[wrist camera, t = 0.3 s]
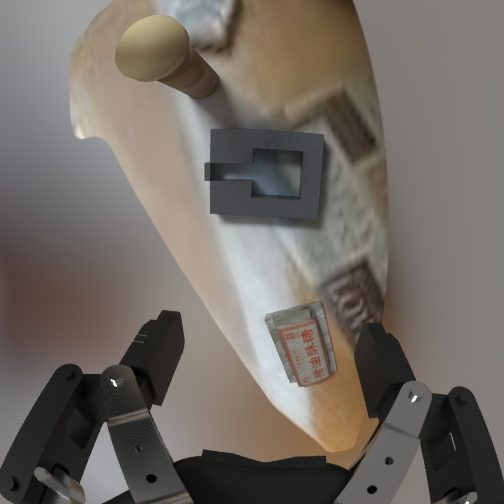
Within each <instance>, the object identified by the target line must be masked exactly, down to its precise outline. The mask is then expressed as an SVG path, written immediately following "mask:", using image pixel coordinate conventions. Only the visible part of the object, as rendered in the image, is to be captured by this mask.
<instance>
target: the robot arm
mask: <svg viewBox="0 0 504 504" xmlns="http://www.w3.org/2000/svg"><path fill="white" fill-rule="evenodd" d="M184 341H185V340H184V332H183V326H182V319H181V314H180V312H177V311H168V310H162V312H161V313H160V315H159V316H158V318H157V320H150V321H148V322H147V323H146V324H144V325H143V326H142V328H141V329H140V331H139V332H138V335H136V337H135V339H134V342H132V344H131V345H130V347H129V348H128V350H127V352H126V353H125V355H124V356H123V358H122V360H121V361H120V363H119V364H117V365H112V366H110V367H108V368H106V369H105V370H104V371H103V372H102V374H83V373H82V371H81V369H80V367H79V366H77V365H75V364H65V365H62V366H61V367H59V368H58V369H57V370H56V371H55V372H54V374H53V375H52V377H51V379H50V380H49V382H48V383H47V385H46V386H45V388H44V389H43V391H42V393H41V394H40V396H39V397H38V399H37V401H36V403H35V404H34V406H33V407H32V409H31V411H30V413H29V414H28V416H27V418H26V420H25V421H24V423H23V425H22V427H21V428H20V431H19V432H18V434H17V436H16V438H15V440H14V442H13V444H12V446H11V448H10V450H9V452H8V454H7V456H6V458H5V460H4V462H3V464H2V466H1V469H0V493H1V495H2V496H3V497H4V498H5V499H7V500H8V501H10V502H12V503H14V504H84V503H85V493H84V490H83V488H82V486H81V485H80V481H81V478H82V475H83V473H84V470H85V467H86V464H87V462H88V459H89V457H90V454H91V452H92V449H93V447H94V444H95V441H96V439H97V437H98V434H99V432H100V429H101V427H102V425H103V422H107V427H108V431H109V434H110V437H111V441H112V444H113V447H114V450H115V453H116V456H117V459H118V462H119V464H120V467H121V470H122V472H123V475H124V478H125V480H126V483H127V485H128V487H129V490H127V491H126V492H124V493H122V494H120V495H118V496H116V497H114V498H112V499H110V500H108V501H106V502H104V503H102V504H390V503H391V501H392V499H393V497H394V496H395V494H396V492H397V490H398V489H399V487H400V485H401V483H402V481H403V479H404V477H405V475H406V473H407V471H408V469H409V467H410V465H411V463H412V461H413V458H414V456H415V454H416V452H417V449H418V447H419V445H421V449H422V454H423V459H424V464H425V469H426V475H427V480H428V487H429V493H430V500H431V504H504V480H503V476H502V473H501V469H500V465H499V462H498V458H497V455H496V452H495V449H494V446H493V443H492V440H491V437H490V434H489V432H488V429H487V426H486V423H485V421H484V418H483V416H482V414H481V411H480V409H479V407H478V404H477V402H476V399H475V397H474V395H473V393H472V392H471V391H470V390H469V389H467V388H464V387H461V386H459V387H455V388H453V389H452V390H451V391H450V392H449V394H448V395H444V394H435V393H431V391H430V389H429V388H428V386H426V385H425V384H423V383H422V382H419V381H416V379H415V376H414V374H413V372H412V370H411V367H410V365H409V363H408V361H407V358H406V357H405V354H404V352H403V351H402V348H401V346H400V344H399V342H398V340H397V339H396V338H395V337H394V336H393V335H392V334H390V333H386V332H385V330H384V328H383V325H382V324H381V323H380V322H379V323H364V324H363V326H362V329H361V332H360V335H359V338H358V342H357V345H356V348H355V352H354V360H355V364H356V368H357V372H358V375H359V379H360V383H361V387H362V391H363V395H364V399H365V403H366V407H367V411H368V416H369V418H377V417H378V419H379V423H378V425H377V426H376V428H375V430H374V431H373V433H372V435H371V437H370V439H369V440H368V442H367V443H366V445H365V446H364V448H363V450H362V451H361V452H360V454H359V456H358V457H357V458H356V460H355V461H354V462H353V464H352V465H351V466H350V467H349V469H348V470H347V469H345V468H343V467H341V466H338V465H335V464H331V463H326V456H305V457H293V458H288V459H283V460H277V461H272V462H260V461H256V460H253V459H249V458H246V457H243V456H240V455H237V454H233V453H226V452H218V451H210V450H204V449H203V453H202V456H195V457H189V458H185V459H182V460H179V461H176V462H174V461H173V459H172V457H171V455H170V453H169V451H168V449H167V448H166V446H165V444H164V442H163V439H162V437H161V435H160V433H159V431H158V429H157V426H156V424H155V422H154V420H153V417H152V415H151V413H150V409H151V407H152V404H154V405H159V406H161V405H162V403H163V400H164V398H165V395H166V393H167V390H168V387H169V385H170V382H171V380H172V377H173V375H174V372H175V370H176V367H177V365H178V362H179V360H180V357H181V355H182V352H183V350H184V343H185V342H184ZM450 434H452V436H453V440H454V444H455V447H456V451H455V449H454V445H453V442H452V438H451V435H450Z"/></svg>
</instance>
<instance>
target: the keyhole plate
mask: <svg viewBox="0 0 504 504" xmlns="http://www.w3.org/2000/svg"><path fill="white" fill-rule="evenodd" d="M323 145H324V135H323V134H314V133H304V132H292V131H277V130H254V129H211V143H210V162H206V163H205V181H210V214H229V215H249V216H267V217H282V218H297V219H311V220H317V216H318V207H319V196H320V185H321V173H322V160H323ZM254 148H256V149H277V150H291V151H302V158H301V173H300V188H299V197H295V196H281V195H264V194H253V180H251V179H221V178H214V163H240V164H253V163H254Z"/></svg>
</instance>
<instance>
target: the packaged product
mask: <svg viewBox="0 0 504 504" xmlns="http://www.w3.org/2000/svg"><path fill="white" fill-rule="evenodd" d="M265 322H266V324H267V327H268V329H269V332H270V334H271V337H272V339H273V341H274V344H275V347H276V349H277V352H278V354H279V357H280V359H281V361H282V364H283V366H284V369H285V372H286V374H287V376H288V379H289V381H290V383H293V382H297V383H298V386H299V387H309V386H312V385H314V384H316V383H318V382H320V381H322V380H325V379H327V378H329V377H330V376H331V373H332V372H333V371H337V369H336V363H335V358H334V354H333V350H332V346H331V341H330V336H329V332H328V328H327V323H326V319H325V315H324V312H323V307H322V302H321V301H317V302H313V303H309V304H305V305H301V306H297V307H293V308H290V309H286V310H281V311H277V312H273V313H269V314H266V316H265Z"/></svg>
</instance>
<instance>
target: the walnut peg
mask: <svg viewBox="0 0 504 504" xmlns="http://www.w3.org/2000/svg"><path fill="white" fill-rule="evenodd" d="M115 61H116V65H117V67H118V69H119V71H120V72H121V73H122V74H124V75H125V76H127V77H129V78H132V79H135V80H138V81H143V82H150V81H156V80H157V81H159V82H162V83H164V84H166V85H168V86H170V87H172V88H175V89H177V90H179V91H181V92H183V93H185V94H187V95H189V96H191V97H193V98H197V99H201V98H206V97H208V96H210V95H211V94H212V93H214V91H215V90H216V89H217V86H218V82H219V79H218V75H217V74H216V72H215V71H214V70H213V69H212V68H211V67H210V66H209V65H208V63H207V62H206V61H205V60H204V59H203V58H202V57H201V56H200V55H199V54H198V53H197V52H196V51H195V50H194V49H193V48H192V47H191V46H190V45H189V36H188V33H187V31H186V30H185V29H184V27H183V26H182V25H181V24H180V23H179V22H178V21H177V20H176V19H174V18H173V17H170V16H167V15H152V16H149V17H146V18H143V19H141V20H139V21H138V22H136V23H135V24H133V25H132V26H131V27H130V28H129V29H128V30H127V31H126V32H125V33H124V34H123V36H122V37H121V39H120V41H119V43H118V45H117V48H116V53H115Z"/></svg>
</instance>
